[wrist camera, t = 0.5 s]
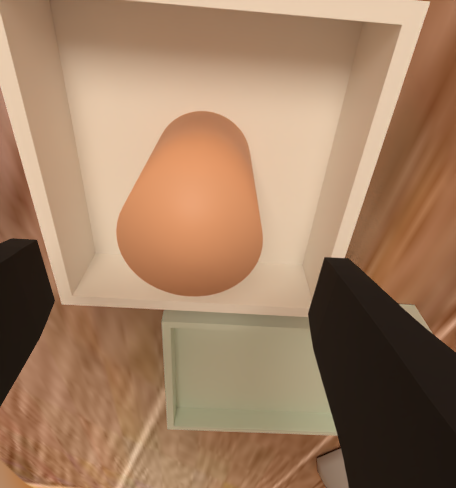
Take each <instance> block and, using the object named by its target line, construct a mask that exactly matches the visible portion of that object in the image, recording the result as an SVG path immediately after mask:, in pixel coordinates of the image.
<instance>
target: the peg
mask: <svg viewBox="0 0 456 488" xmlns="http://www.w3.org/2000/svg"><path fill="white" fill-rule="evenodd" d="M116 236H117V243H118V247H119V250H120V252H121V255H122V256H123V258H124V260H125V262H126V263H127V265H128V266H129V267H130V268H131V270H132V271H133V272H134V273H135V274H136V275H137V276H139V277H140V278H141V279H142V280H144V281H145V282H147V283H148V284H150V285H152V286H153V287H155V288H157V289H160V290H162V291H165V292H168V293H171V294H176V295H181V296H207V295H212V294H217V293H220V292H223V291H225V290H228V289H230V288H232V287H233V286H235V285H237V284H238V283H240V282H241V281H242V280H244V279H245V278H246V277H247V276H248V275H249V274H250V273H251V271H252V270H253V269H254V267H255V266H256V264H257V262H258V260H259V257H260V255H261V251H262V246H263V233H262V226H261V220H260V213H259V207H258V201H257V194H256V188H255V181H254V175H253V169H252V162H251V156H250V150H249V146H248V143H247V140H246V138H245V136H244V134H243V133H242V131H241V130H240V129H239V128H238V127H237V126H236V124H234V123H233V122H232V121H231V120H229V119H228V118H226V117H224V116H222V115H220V114H217V113H214V112H208V111H195V112H190V113H186V114H184V115H182V116H180V117H178V118H176V119H175V120H174V121H172V122H171V123H170V124H169V125H168V126H167V127H166V129H165V130H164V132H163V133H162V135H161V137H160V139H159V140H158V142H157V144H156V146H155V148H154V150H153V152H152V153H151V155H150V157H149V159H148V161H147V163H146V165H145V166H144V168H143V170H142V172H141V174H140V176H139V178H138V179H137V181H136V183H135V185H134V187H133V189H132V191H131V192H130V194H129V196H128V198H127V200H126V202H125V204H124V205H123V207H122V210H121V212H120V214H119V217H118V221H117V228H116Z"/></svg>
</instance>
